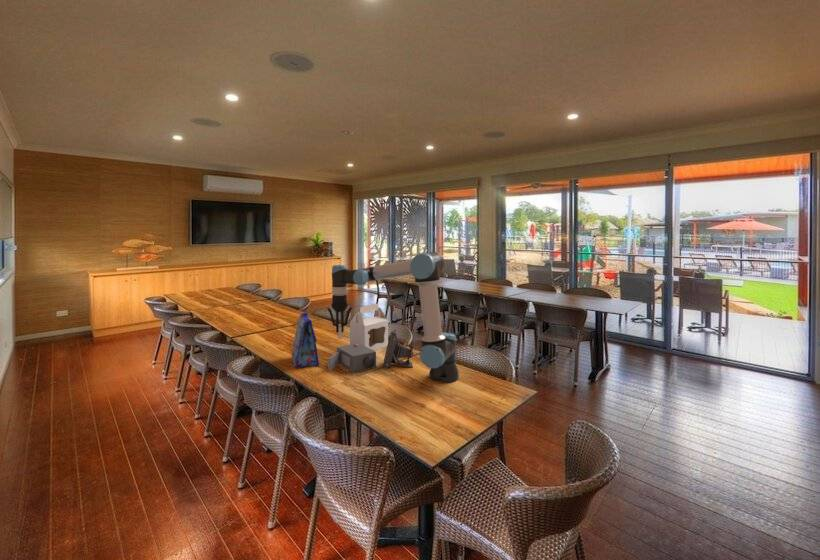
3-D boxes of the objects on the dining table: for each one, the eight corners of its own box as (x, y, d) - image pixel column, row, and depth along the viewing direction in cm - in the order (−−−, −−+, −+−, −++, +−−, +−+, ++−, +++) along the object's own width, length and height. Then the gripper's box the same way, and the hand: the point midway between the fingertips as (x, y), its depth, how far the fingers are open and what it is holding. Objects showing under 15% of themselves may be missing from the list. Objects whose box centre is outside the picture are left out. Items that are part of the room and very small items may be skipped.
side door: (330, 370, 204) (330, 358, 204) (327, 370, 205) (327, 358, 204) (340, 362, 216) (340, 351, 216) (337, 362, 217) (337, 351, 216)
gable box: (373, 342, 262) (373, 301, 259) (388, 345, 254) (388, 303, 251) (349, 349, 245) (349, 306, 242) (364, 353, 237) (364, 308, 234)
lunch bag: (319, 366, 215) (318, 315, 211) (294, 369, 210) (292, 316, 206) (314, 354, 235) (313, 307, 231) (291, 357, 230) (289, 309, 226)
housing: (378, 368, 211) (377, 351, 210) (354, 373, 203) (354, 355, 202) (359, 358, 229) (358, 341, 228) (336, 362, 221) (336, 345, 220)
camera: (410, 375, 212) (420, 340, 210) (381, 367, 211) (390, 332, 209) (410, 368, 223) (419, 335, 221) (382, 360, 222) (391, 327, 220)
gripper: (351, 292, 208) (351, 335, 211) (326, 293, 205) (327, 337, 208) (352, 295, 201) (353, 339, 204) (327, 295, 198) (327, 340, 201)
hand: (339, 338), depth 206 cm, fingers closed
